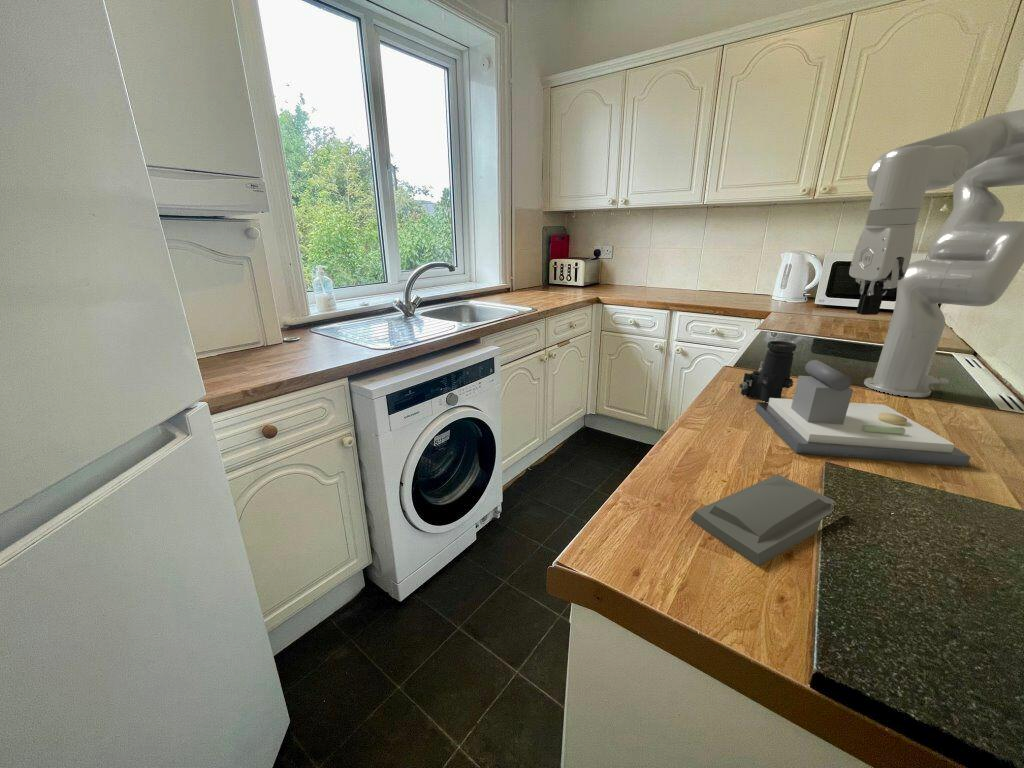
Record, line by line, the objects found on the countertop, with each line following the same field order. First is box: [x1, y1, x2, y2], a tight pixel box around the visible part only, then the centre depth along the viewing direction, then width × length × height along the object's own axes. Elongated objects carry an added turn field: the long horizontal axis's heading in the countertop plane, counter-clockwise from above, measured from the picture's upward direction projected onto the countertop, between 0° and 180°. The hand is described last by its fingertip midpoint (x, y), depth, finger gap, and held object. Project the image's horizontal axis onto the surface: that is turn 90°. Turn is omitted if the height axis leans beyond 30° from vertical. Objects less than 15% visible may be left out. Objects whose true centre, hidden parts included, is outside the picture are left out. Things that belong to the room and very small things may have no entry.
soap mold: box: [689, 473, 839, 567], centre depth 56 cm, size 10×20×4 cm, turn 118°
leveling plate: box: [768, 359, 956, 452], centre depth 78 cm, size 22×18×12 cm
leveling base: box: [754, 401, 971, 468], centre depth 80 cm, size 26×20×2 cm
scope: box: [738, 340, 797, 402], centre depth 96 cm, size 8×14×10 cm
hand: (866, 313), depth 86 cm, fingers closed
